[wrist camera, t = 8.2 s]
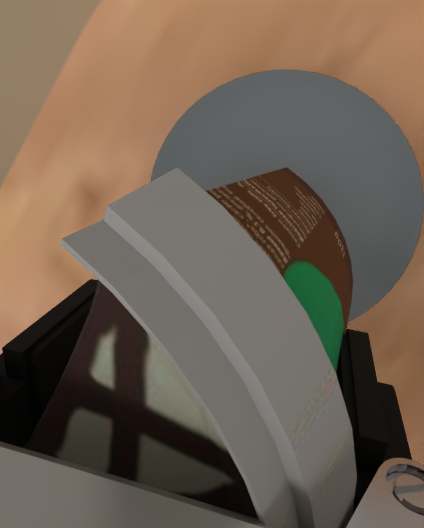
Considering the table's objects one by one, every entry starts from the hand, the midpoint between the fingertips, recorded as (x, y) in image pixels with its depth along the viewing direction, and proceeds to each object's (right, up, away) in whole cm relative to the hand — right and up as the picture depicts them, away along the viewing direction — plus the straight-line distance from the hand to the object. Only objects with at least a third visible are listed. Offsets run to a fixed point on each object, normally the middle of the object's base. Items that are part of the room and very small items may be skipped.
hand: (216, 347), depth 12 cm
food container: (+3, +1, +3) cm, 4 cm away
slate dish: (+4, +6, +14) cm, 16 cm away
